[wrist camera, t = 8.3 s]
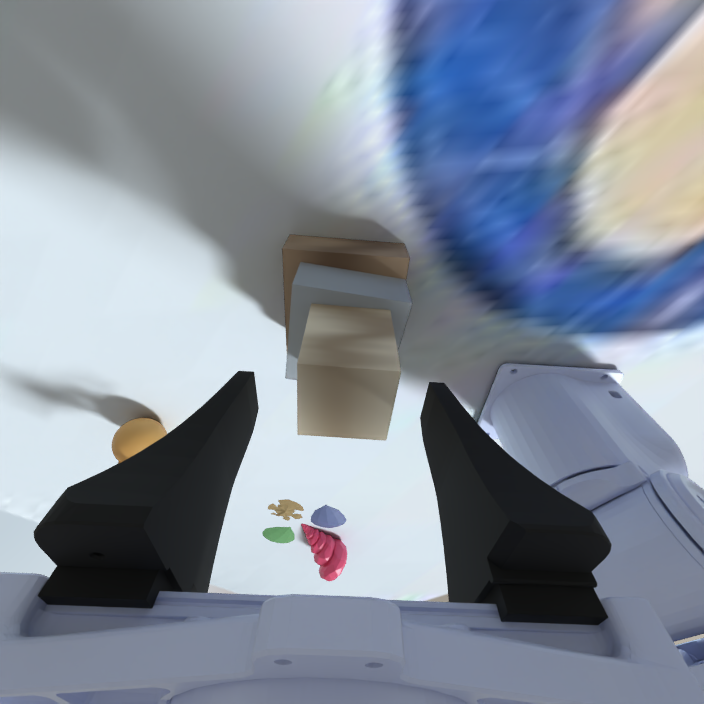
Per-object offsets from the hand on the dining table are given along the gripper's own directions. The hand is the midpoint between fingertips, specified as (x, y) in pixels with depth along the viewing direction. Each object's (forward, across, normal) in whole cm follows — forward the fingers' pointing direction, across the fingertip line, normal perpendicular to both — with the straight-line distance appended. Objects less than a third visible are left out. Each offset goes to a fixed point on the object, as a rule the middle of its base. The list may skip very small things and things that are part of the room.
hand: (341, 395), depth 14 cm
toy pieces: (+11, +3, +30) cm, 32 cm away
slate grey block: (+8, 0, +1) cm, 8 cm away
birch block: (+5, 0, 0) cm, 5 cm away
